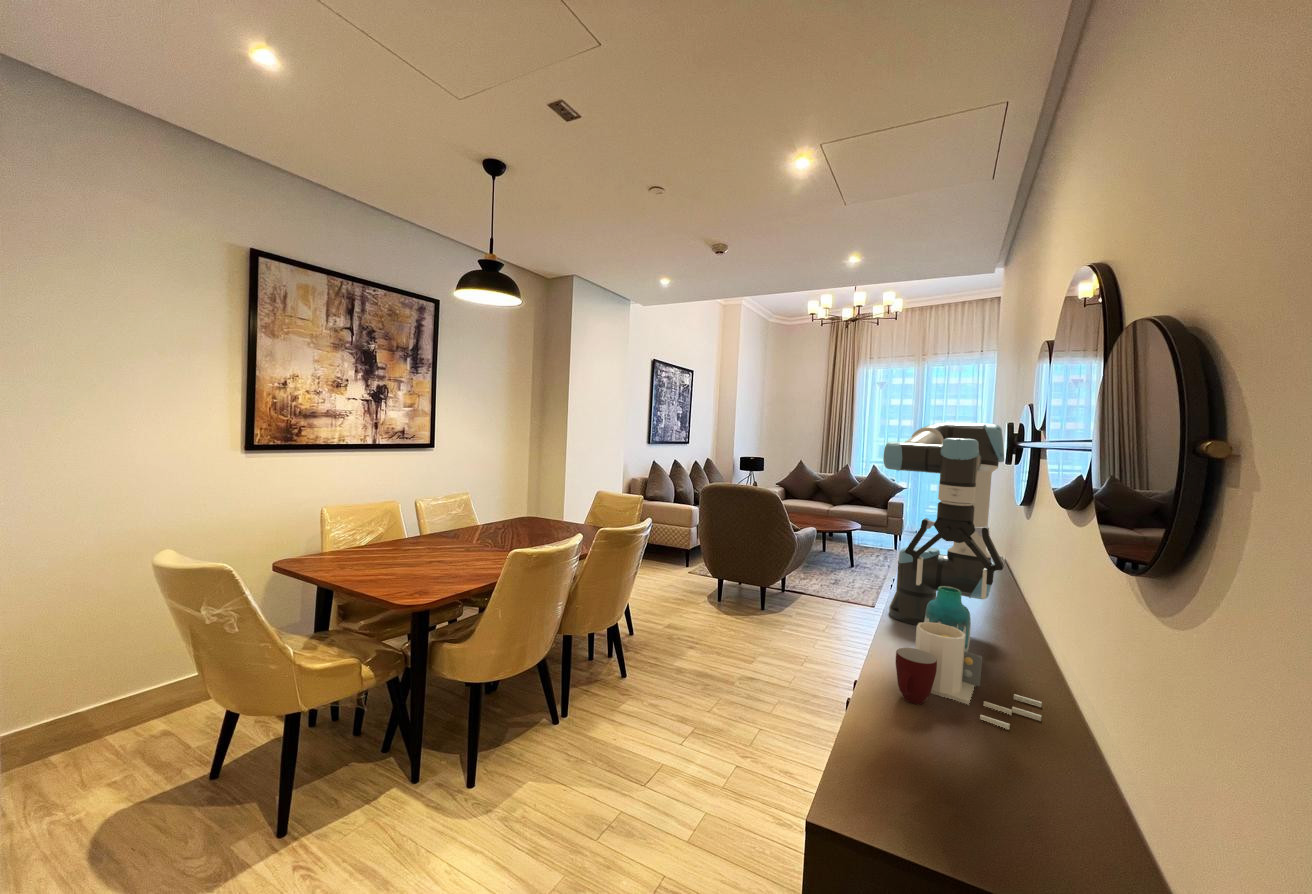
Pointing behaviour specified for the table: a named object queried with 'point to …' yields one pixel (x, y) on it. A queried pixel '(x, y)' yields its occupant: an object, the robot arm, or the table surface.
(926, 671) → the mug
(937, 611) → the vase
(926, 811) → the table surface
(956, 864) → the table surface
